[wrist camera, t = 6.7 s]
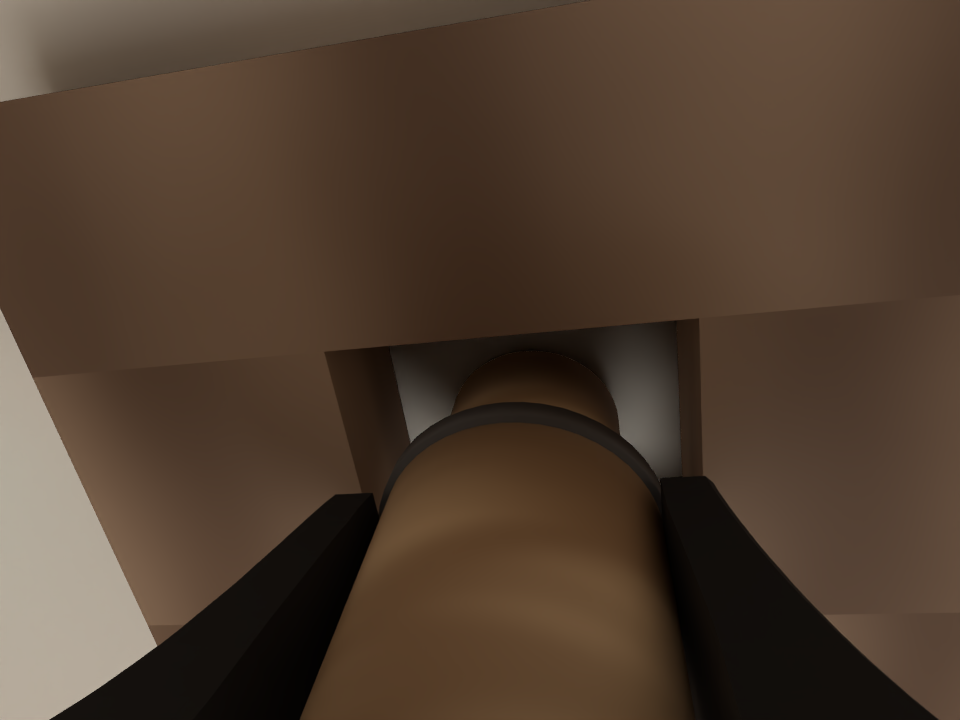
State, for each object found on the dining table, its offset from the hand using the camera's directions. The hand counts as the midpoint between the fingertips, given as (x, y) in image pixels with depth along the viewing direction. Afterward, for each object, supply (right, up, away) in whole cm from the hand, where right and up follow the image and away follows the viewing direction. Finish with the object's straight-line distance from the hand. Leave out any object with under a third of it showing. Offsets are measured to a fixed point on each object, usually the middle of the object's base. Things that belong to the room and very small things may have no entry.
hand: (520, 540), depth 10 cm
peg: (0, +1, +3) cm, 3 cm away
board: (0, +2, +4) cm, 4 cm away
